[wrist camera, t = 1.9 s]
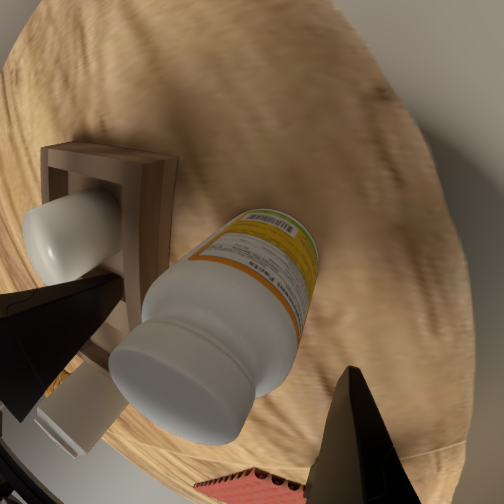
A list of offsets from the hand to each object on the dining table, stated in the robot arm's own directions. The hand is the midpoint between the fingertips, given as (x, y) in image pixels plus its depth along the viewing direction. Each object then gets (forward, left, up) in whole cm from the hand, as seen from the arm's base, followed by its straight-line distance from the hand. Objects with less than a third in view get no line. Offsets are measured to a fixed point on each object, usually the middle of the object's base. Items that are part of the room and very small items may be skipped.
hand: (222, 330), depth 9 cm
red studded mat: (-15, +46, -7) cm, 49 cm away
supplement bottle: (0, 0, -6) cm, 6 cm away
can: (+15, +23, -6) cm, 28 cm away
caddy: (+11, +6, -6) cm, 14 cm away
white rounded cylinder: (+11, +1, -5) cm, 12 cm away
